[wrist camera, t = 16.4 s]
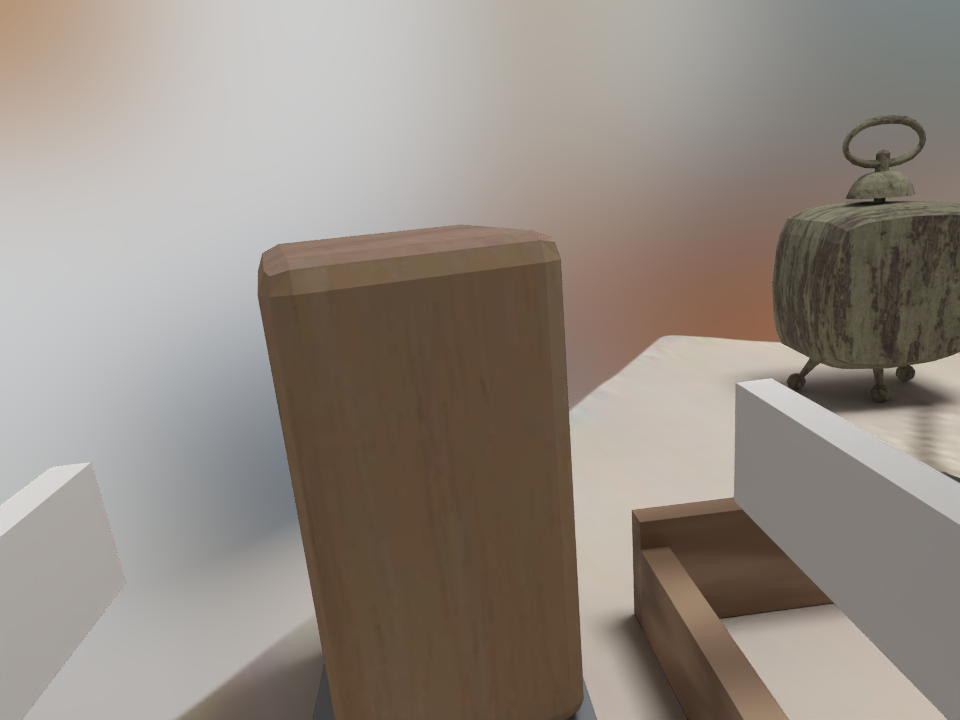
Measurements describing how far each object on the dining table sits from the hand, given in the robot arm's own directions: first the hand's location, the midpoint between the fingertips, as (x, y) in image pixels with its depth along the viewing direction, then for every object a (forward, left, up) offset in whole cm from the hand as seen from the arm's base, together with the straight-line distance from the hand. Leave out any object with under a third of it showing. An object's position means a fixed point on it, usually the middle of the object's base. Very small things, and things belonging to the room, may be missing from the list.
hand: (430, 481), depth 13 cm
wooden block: (-12, -1, -16) cm, 20 cm away
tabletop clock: (-41, +40, -17) cm, 60 cm away
